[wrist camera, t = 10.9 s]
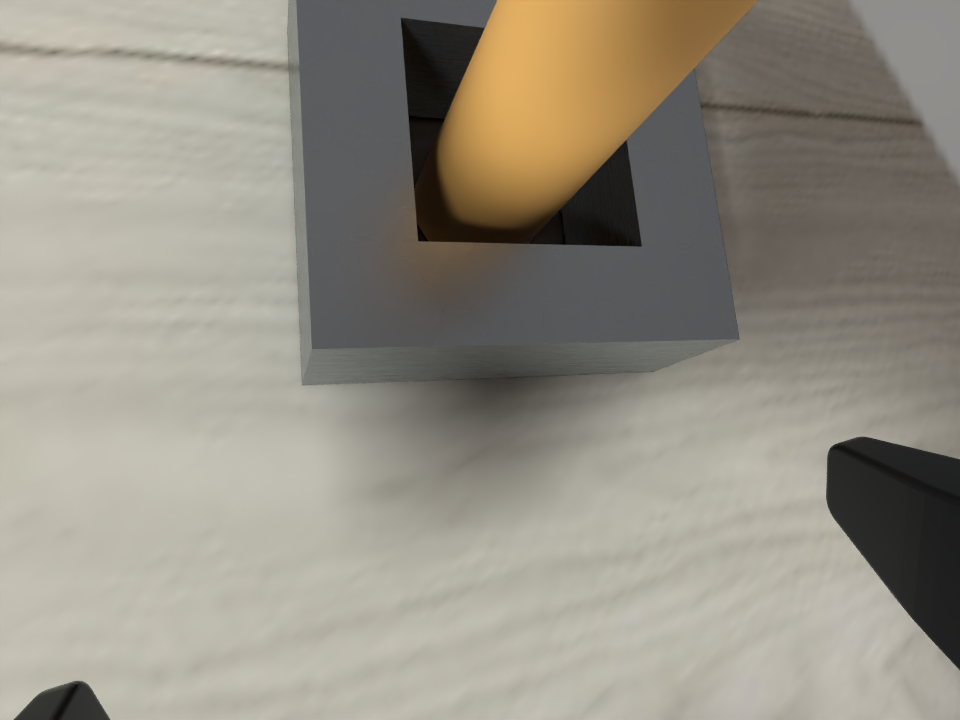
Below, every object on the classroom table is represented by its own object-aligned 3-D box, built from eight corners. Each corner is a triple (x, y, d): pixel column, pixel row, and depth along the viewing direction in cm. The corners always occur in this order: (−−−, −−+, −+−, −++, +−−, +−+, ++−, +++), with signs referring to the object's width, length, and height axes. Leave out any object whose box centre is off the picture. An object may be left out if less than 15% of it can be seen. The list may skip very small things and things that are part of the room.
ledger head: (652, 371, 20) (739, 339, 17) (301, 385, 17) (311, 349, 14) (580, -142, 24) (638, -264, 20) (277, -205, 21) (279, -363, 17)
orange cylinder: (554, 241, 20) (981, -170, 8) (448, 285, 19) (765, -124, 7) (500, 134, 21) (835, -418, 8) (391, 171, 19) (602, -417, 7)
